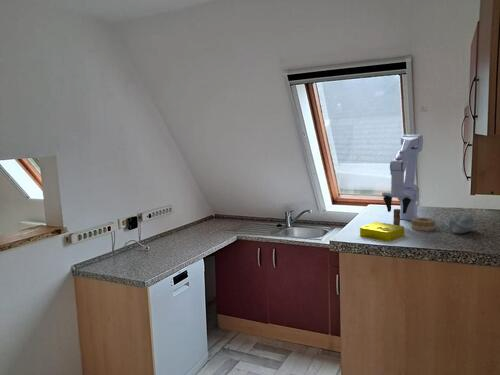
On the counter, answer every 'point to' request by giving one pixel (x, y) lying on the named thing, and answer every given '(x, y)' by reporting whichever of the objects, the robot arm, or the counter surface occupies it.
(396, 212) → the peg
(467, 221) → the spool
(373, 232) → the element tile
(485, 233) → the counter surface
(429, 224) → the bead
